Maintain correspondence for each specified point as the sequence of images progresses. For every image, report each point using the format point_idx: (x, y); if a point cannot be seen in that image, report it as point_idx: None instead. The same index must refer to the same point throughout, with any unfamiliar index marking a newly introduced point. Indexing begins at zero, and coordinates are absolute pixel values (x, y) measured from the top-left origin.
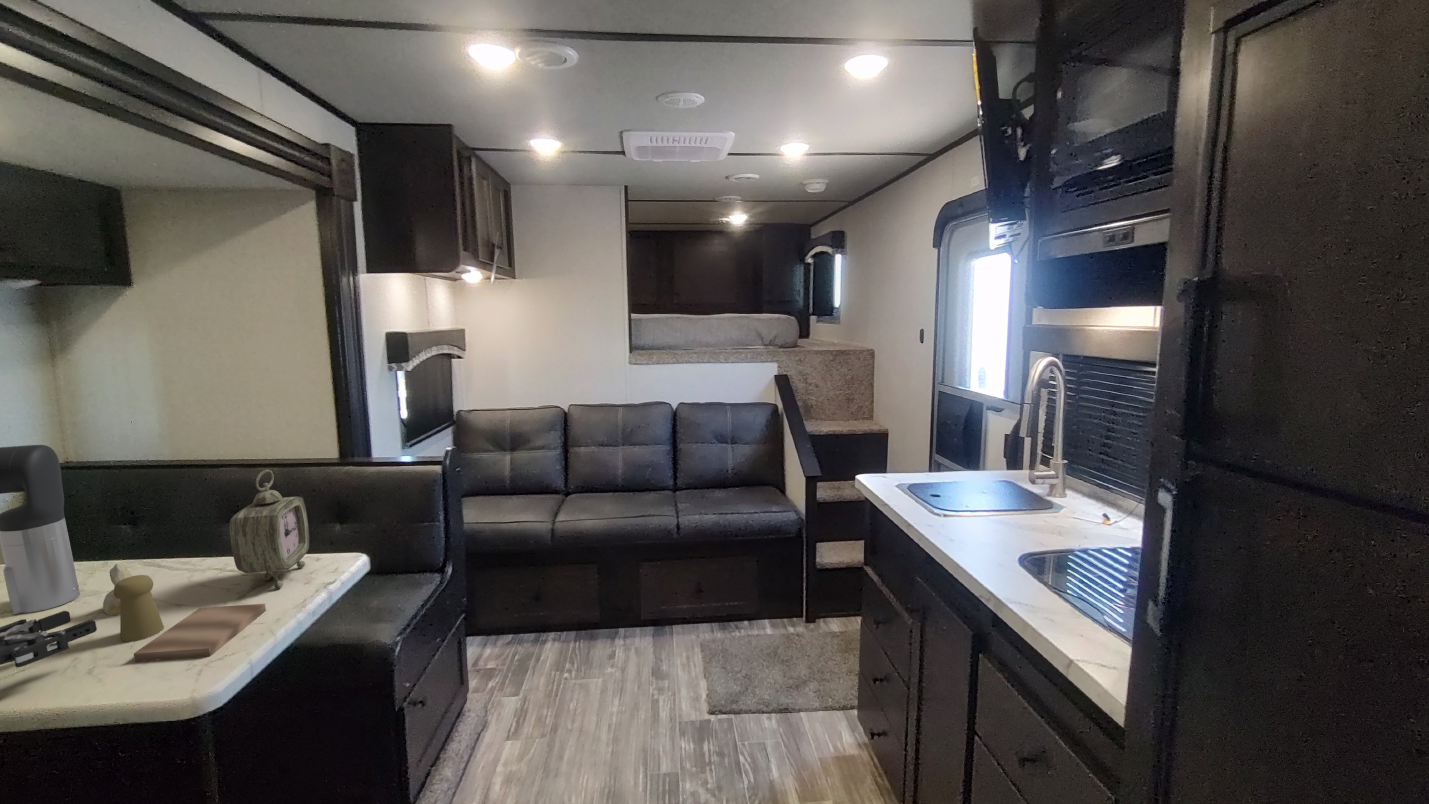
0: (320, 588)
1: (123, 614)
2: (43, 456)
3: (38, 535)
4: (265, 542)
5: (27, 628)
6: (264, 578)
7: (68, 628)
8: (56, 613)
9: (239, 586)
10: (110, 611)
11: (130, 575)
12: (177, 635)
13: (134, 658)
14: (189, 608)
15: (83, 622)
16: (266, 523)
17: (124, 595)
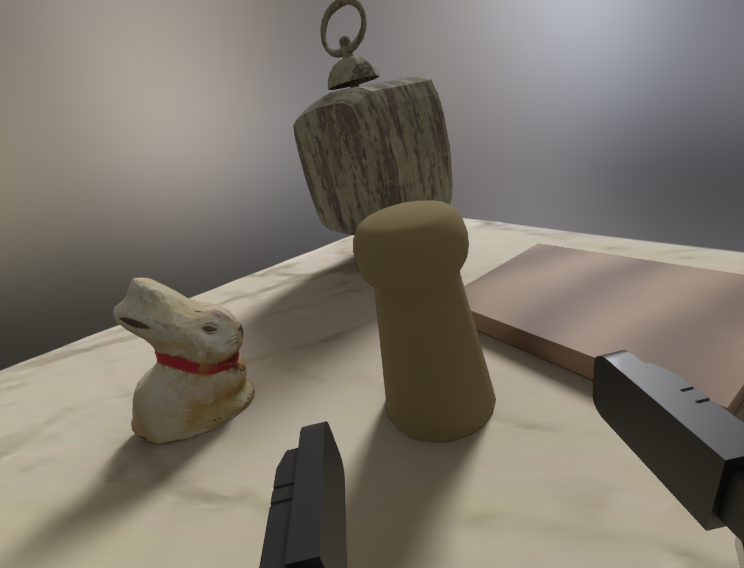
0: (499, 227)
1: (445, 345)
2: None
3: None
4: (433, 146)
5: None
6: None
7: (719, 437)
8: (301, 459)
9: (357, 282)
10: (192, 427)
11: (198, 302)
12: (620, 325)
13: None
14: (376, 328)
15: (639, 375)
16: (425, 99)
17: (454, 261)
